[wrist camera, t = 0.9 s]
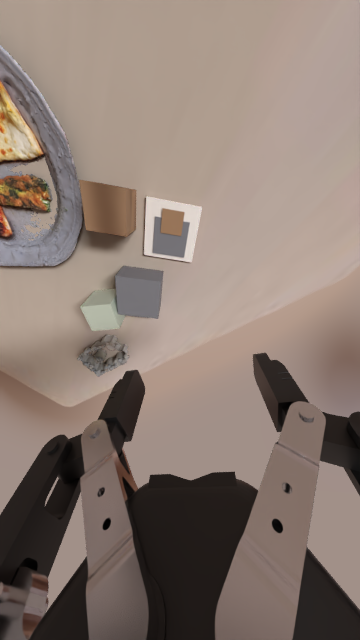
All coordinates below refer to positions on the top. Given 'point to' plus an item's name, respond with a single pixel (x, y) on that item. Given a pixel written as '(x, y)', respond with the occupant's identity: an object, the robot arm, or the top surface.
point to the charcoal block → (139, 291)
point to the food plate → (29, 191)
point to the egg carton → (104, 355)
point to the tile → (170, 229)
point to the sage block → (102, 310)
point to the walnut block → (108, 208)
